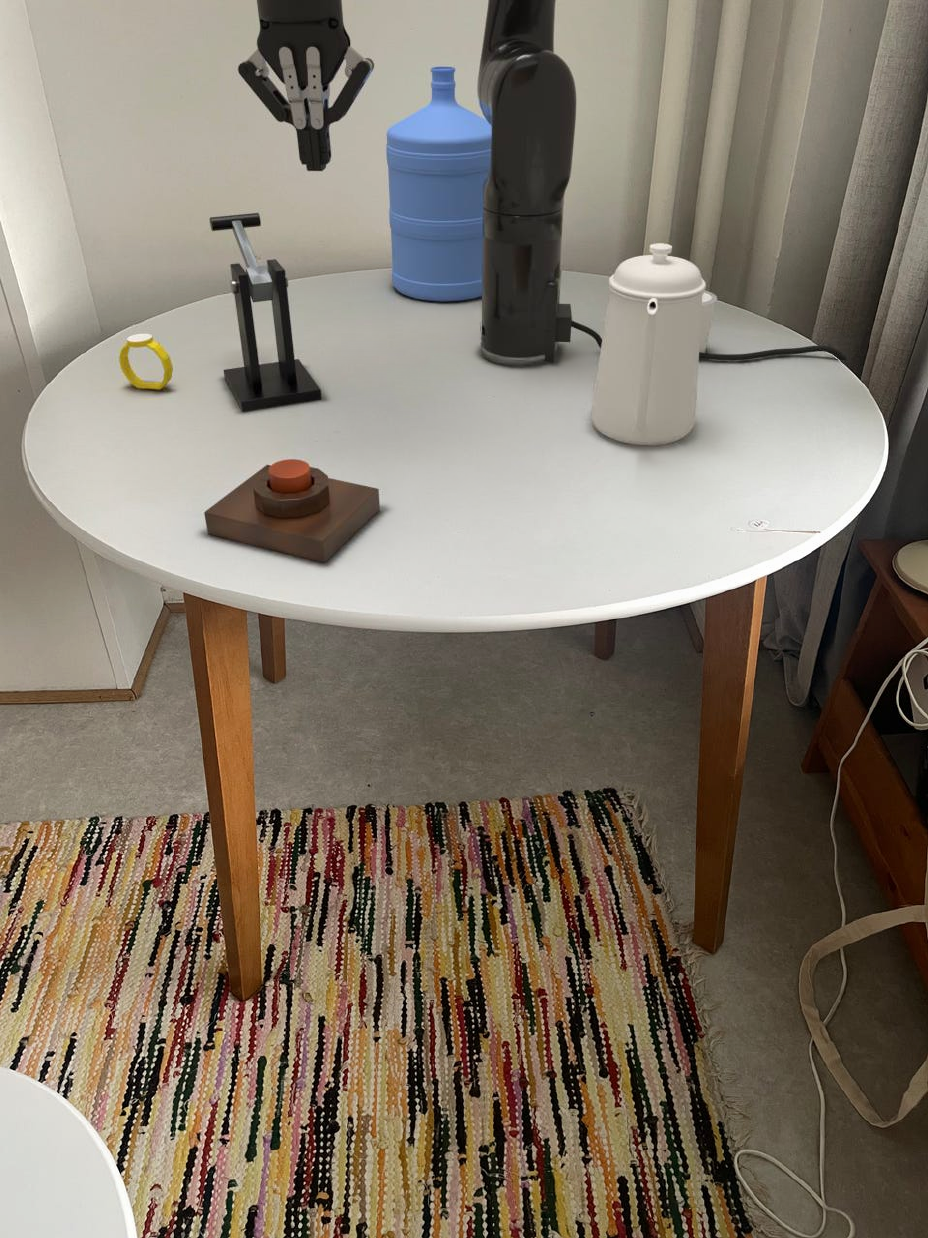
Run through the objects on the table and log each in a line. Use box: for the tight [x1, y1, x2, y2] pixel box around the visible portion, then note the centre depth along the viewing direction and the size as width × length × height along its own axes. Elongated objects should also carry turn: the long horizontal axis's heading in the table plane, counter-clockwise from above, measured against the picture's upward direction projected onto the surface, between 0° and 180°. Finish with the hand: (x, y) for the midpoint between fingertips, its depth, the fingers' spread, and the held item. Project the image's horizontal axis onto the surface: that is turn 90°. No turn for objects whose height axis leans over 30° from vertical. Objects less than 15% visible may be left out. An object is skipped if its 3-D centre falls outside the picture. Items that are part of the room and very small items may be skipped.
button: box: [269, 458, 312, 494], centre depth 88 cm, size 4×4×2 cm
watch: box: [118, 333, 174, 391], centre depth 113 cm, size 6×3×6 cm, turn 74°
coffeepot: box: [590, 242, 707, 446], centre depth 100 cm, size 11×25×19 cm, turn 168°
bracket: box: [223, 258, 322, 412], centre depth 111 cm, size 10×9×14 cm
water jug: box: [385, 66, 492, 302], centre depth 137 cm, size 16×16×28 cm
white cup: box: [699, 290, 718, 353], centre depth 122 cm, size 7×7×7 cm
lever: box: [209, 212, 273, 303], centre depth 110 cm, size 13×6×2 cm, turn 22°
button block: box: [203, 464, 381, 564], centre depth 89 cm, size 12×10×4 cm
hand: (316, 169), depth 97 cm, fingers closed
